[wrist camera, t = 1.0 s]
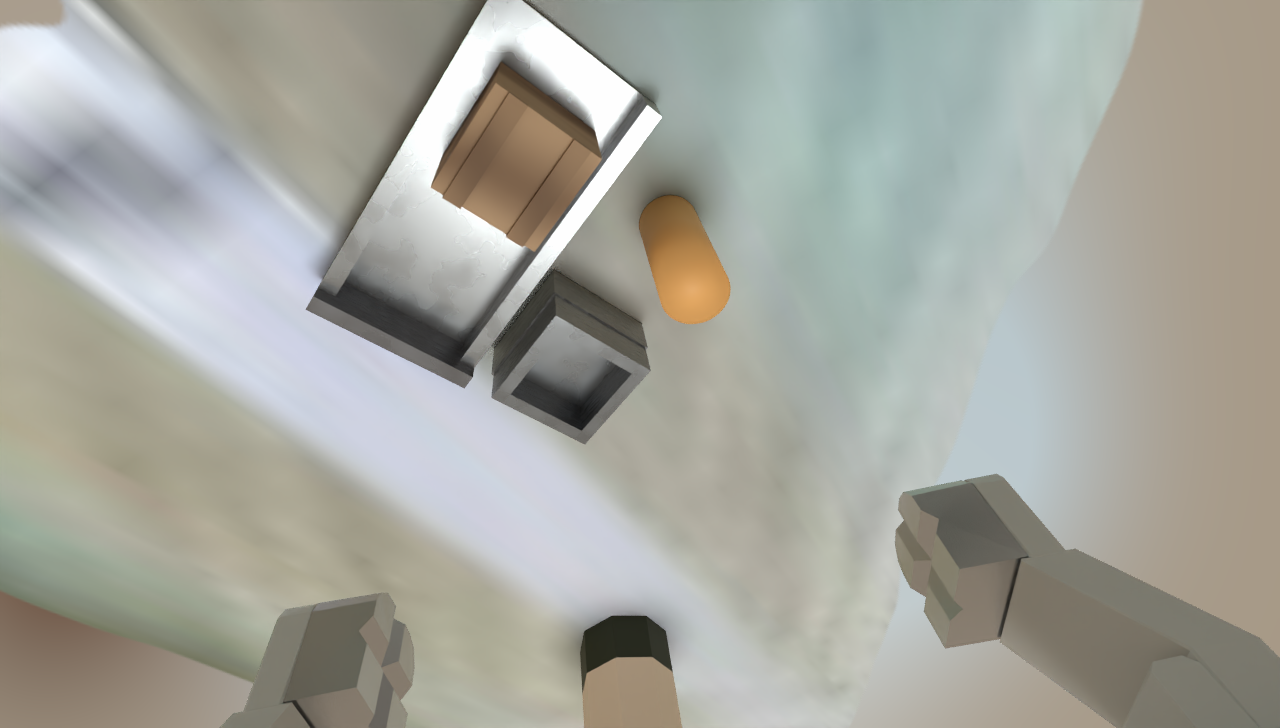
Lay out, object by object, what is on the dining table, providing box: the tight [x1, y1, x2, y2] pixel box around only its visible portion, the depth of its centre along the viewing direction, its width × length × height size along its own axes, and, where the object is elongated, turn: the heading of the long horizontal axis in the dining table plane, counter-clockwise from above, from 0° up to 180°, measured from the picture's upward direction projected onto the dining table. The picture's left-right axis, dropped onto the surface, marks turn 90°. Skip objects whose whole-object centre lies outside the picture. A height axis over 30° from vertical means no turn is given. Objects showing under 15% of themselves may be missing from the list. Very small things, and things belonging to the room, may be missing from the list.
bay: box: [306, 0, 662, 388], centre depth 39 cm, size 20×10×4 cm, turn 142°
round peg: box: [639, 195, 730, 324], centre depth 39 cm, size 4×4×9 cm
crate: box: [431, 62, 602, 252], centre depth 36 cm, size 6×6×5 cm
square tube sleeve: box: [492, 270, 651, 444], centre depth 44 cm, size 7×7×6 cm
